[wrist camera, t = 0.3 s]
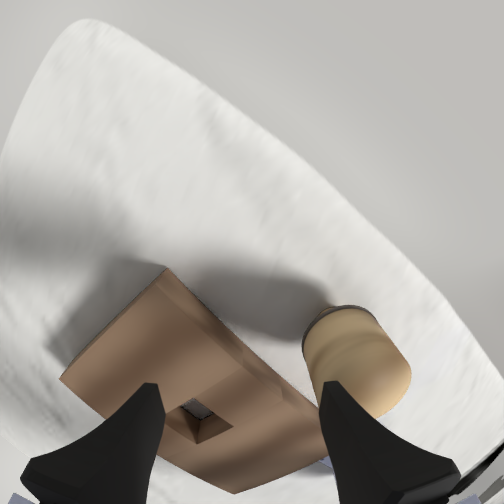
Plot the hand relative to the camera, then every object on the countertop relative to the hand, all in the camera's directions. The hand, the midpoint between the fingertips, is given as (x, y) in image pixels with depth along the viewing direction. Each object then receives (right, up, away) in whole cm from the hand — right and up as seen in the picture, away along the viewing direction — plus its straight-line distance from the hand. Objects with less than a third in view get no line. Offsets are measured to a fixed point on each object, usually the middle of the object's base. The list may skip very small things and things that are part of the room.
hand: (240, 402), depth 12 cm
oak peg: (+6, +1, +10) cm, 12 cm away
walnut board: (-3, -7, +12) cm, 14 cm away
